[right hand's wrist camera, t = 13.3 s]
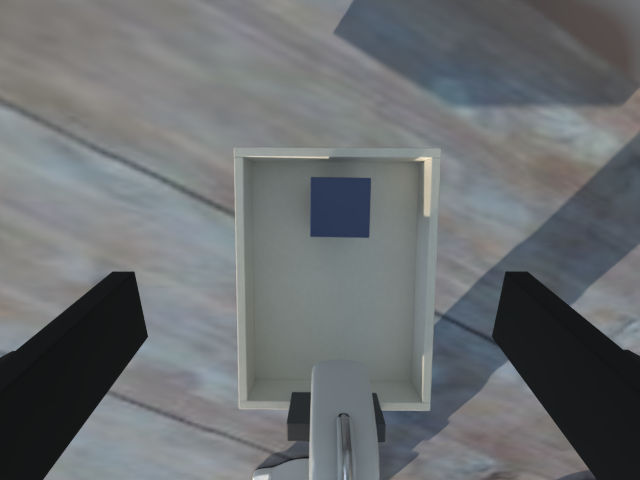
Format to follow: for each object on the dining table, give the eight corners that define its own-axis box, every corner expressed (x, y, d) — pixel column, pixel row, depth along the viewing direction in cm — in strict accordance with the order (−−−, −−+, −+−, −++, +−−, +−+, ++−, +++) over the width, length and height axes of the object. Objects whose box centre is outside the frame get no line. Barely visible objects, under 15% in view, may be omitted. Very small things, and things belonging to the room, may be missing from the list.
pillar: (313, 182, 34) (310, 176, 26) (360, 183, 34) (371, 177, 26) (312, 228, 35) (309, 237, 27) (358, 229, 35) (369, 238, 27)
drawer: (245, 154, 35) (220, 139, 26) (425, 155, 35) (458, 140, 26) (249, 387, 37) (227, 440, 29) (417, 388, 37) (444, 443, 29)
